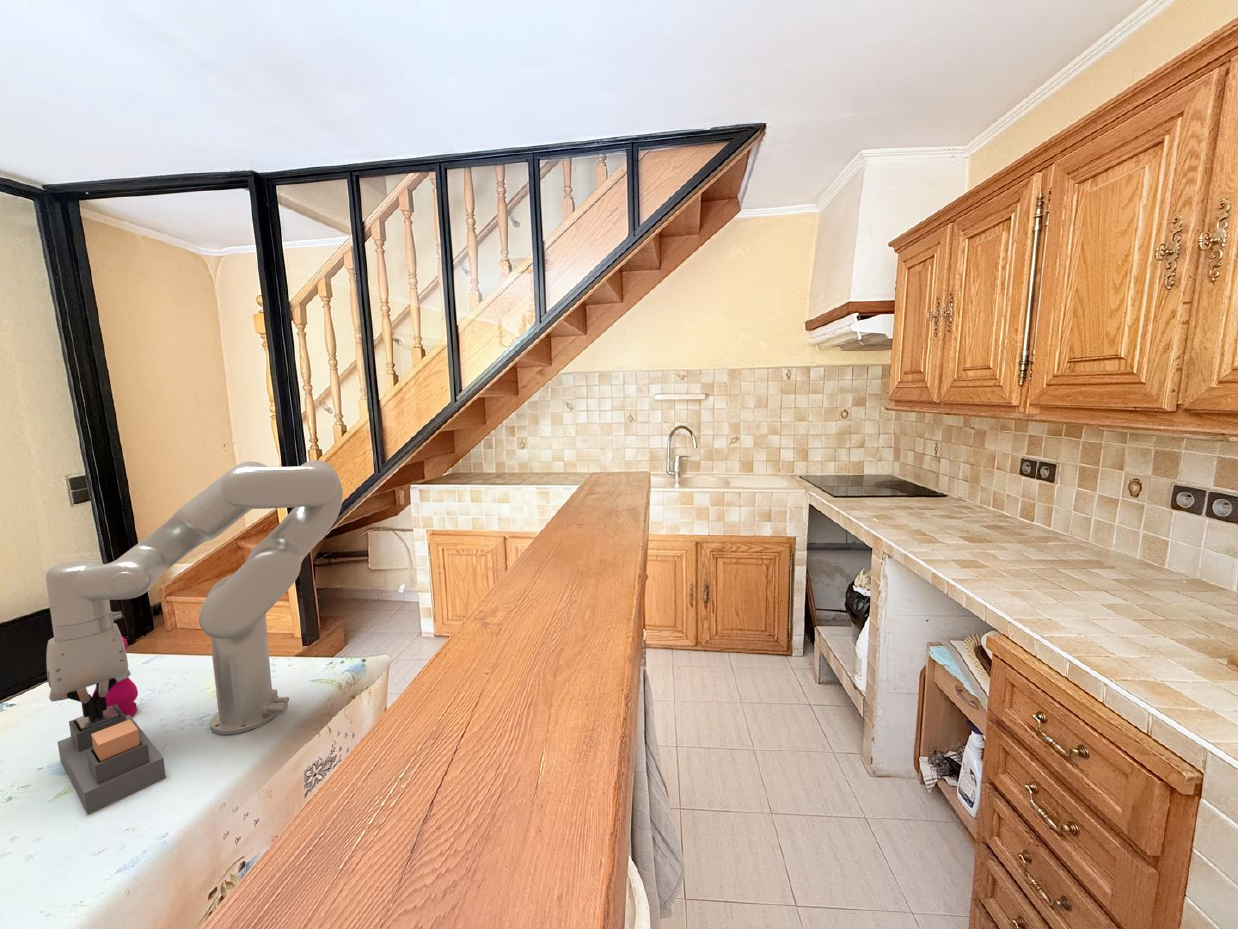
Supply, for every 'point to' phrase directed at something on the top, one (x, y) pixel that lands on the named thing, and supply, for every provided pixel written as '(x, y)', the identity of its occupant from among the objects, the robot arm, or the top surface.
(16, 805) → the top surface
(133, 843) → the top surface
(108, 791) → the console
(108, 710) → the grey button
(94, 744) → the terracotta button
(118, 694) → the pepper mill
